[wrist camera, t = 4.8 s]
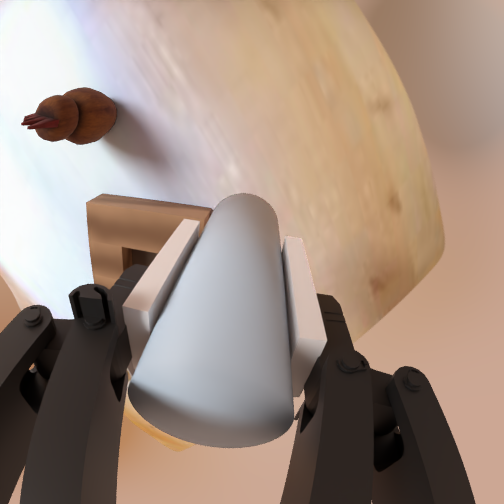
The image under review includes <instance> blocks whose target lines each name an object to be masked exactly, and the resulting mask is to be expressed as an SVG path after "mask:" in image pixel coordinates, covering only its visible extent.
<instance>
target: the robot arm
mask: <svg viewBox="0 0 504 504" xmlns="http://www.w3.org/2000/svg"><path fill="white" fill-rule="evenodd" d="M199 226H200V221H196V220H189V219H184V220H183V221H182V222H181V223H180V225H179V226H178V227H177V229H176V230H175V231H174V233H173V234H172V235H171V237H170V238H169V239H168V241H167V242H166V244H165V245H164V246H163V248H162V249H161V250H160V252H159V253H158V255H157V256H156V257H155V259H154V260H153V262H152V263H151V264H150V266H144V265H139V264H134V265H133V266H131V267H129V268H127V269H126V270H125V271H124V272H123V273H122V275H121V276H120V277H119V279H118V280H117V281H116V282H115V283H114V285H113V286H112V287H111V289H110V290H109V289H108V288H106V287H105V286H103V285H99V284H86V285H82V286H79V287H78V288H76V289H74V290H73V291H72V292H71V293H70V294H69V299H70V303H71V307H72V311H73V315H74V319H71V320H68V319H53V317H52V314H51V312H50V310H49V309H48V308H47V307H45V306H42V305H32V306H29V307H27V308H25V309H24V310H22V311H21V312H20V313H19V314H18V315H17V316H16V317H15V318H14V319H13V320H12V321H11V322H10V323H9V324H8V325H7V327H6V328H5V329H4V330H3V331H2V332H1V333H0V504H8V503H9V500H10V498H11V496H12V493H13V491H14V488H15V486H16V484H17V481H18V479H19V477H20V475H21V472H22V470H23V468H24V466H25V471H24V476H23V482H22V489H21V497H20V504H116V489H117V469H118V457H119V446H120V436H121V427H122V419H123V411H124V404H125V398H126V391H127V385H128V372H127V368H128V366H129V363H130V361H131V359H132V364H133V368H134V369H136V367H137V364H138V362H139V360H140V358H141V355H142V353H143V351H144V349H145V346H146V344H147V342H148V340H149V338H150V336H151V333H152V331H153V329H154V327H155V325H156V323H157V321H158V318H159V316H160V314H161V312H162V310H163V308H164V306H165V304H166V302H167V300H168V298H169V296H170V294H171V291H172V289H173V287H174V285H175V283H176V281H177V279H178V277H179V275H180V273H181V271H182V269H183V268H184V266H185V264H186V262H187V260H188V258H189V256H190V254H191V252H192V250H193V248H194V246H195V244H196V242H197V241H198V238H199ZM281 254H282V264H283V274H284V285H285V296H286V307H287V319H288V331H289V344H290V357H291V372H292V387H293V397H299V396H300V394H301V393H302V391H303V389H304V393H305V400H304V402H303V404H302V405H301V407H300V409H299V411H298V412H297V414H296V416H295V418H294V420H298V418H299V420H298V425H297V431H296V436H295V441H294V446H293V451H292V455H291V460H290V465H289V469H288V474H287V478H286V482H285V487H284V491H283V495H282V498H281V502H280V504H371V500H372V503H373V504H475V500H474V496H473V493H472V490H471V487H470V483H469V480H468V477H467V474H466V471H465V468H464V465H463V462H462V459H461V456H460V454H459V451H458V448H457V445H456V443H455V440H454V438H453V435H452V433H451V430H450V428H449V426H448V423H447V421H446V418H445V416H444V414H443V411H442V409H441V407H440V405H439V402H438V400H437V398H436V396H435V394H434V392H433V389H432V387H431V385H430V383H429V381H428V379H427V378H426V377H425V375H424V374H423V373H422V372H420V371H419V370H418V369H416V368H413V367H408V366H404V367H401V368H399V369H398V370H397V371H396V372H395V373H394V374H393V375H390V374H386V373H383V372H380V371H376V370H373V369H371V368H370V366H369V363H368V361H367V360H366V358H365V357H364V356H363V355H361V354H360V353H359V352H357V351H355V350H354V347H353V344H352V340H351V337H350V334H349V331H348V328H347V325H346V323H345V322H346V321H345V318H344V316H343V312H342V309H341V306H340V304H339V303H338V302H337V301H336V299H335V298H334V297H333V296H331V295H324V294H316V291H315V287H314V283H313V279H312V275H311V271H310V267H309V263H308V260H307V256H306V252H305V248H304V245H303V241H302V238H298V237H292V236H285V240H284V245H283V249H282V253H281ZM33 363H34V365H35V366H34V368H33V369H31V370H29V368H30V367H31V365H32V364H33ZM398 427H399V429H398ZM399 430H400V431H399ZM25 464H26V465H25Z"/></svg>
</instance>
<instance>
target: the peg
mask: <svg viewBox="0 0 504 504" xmlns="http://www.w3.org/2000/svg"><path fill="white" fill-rule="evenodd" d="M128 396H129V399H130V402H131V404H132V405H133V407H134V408H135V410H136V411H137V412H138V413H139V414H140V415H141V416H142V417H143V418H144V419H145V420H146V421H148V422H149V423H150V424H152V425H153V426H155V427H156V428H158V429H159V430H161V431H163V432H165V433H167V434H169V435H171V436H174V437H176V438H179V439H181V440H184V441H187V442H191V443H195V444H200V445H204V446H210V447H220V448H242V447H251V446H256V445H260V444H264V443H267V442H270V441H272V440H274V439H277V438H278V437H280V436H281V435H283V434H284V433H285V432H287V431H288V429H289V428H290V427H291V425H292V423H293V420H294V405H293V387H292V372H291V357H290V344H289V331H288V319H287V307H286V296H285V285H284V274H283V264H282V254H281V244H280V235H279V225H278V219H277V215H276V213H275V211H274V210H273V208H272V207H271V206H270V204H269V203H267V202H266V201H265V200H264V199H262V198H260V197H258V196H256V195H252V194H246V193H241V194H235V195H231V196H229V197H227V198H225V199H224V200H222V201H221V202H220V203H219V204H218V205H217V206H216V208H215V209H214V211H213V213H212V215H211V216H210V218H209V220H208V222H207V224H206V226H205V227H204V229H203V231H202V233H201V235H200V237H199V239H198V241H197V242H196V244H195V246H194V248H193V250H192V252H191V254H190V256H189V258H188V260H187V262H186V264H185V266H184V268H183V269H182V271H181V273H180V275H179V277H178V279H177V281H176V283H175V285H174V287H173V289H172V291H171V294H170V296H169V298H168V300H167V302H166V304H165V306H164V308H163V310H162V312H161V314H160V316H159V318H158V321H157V323H156V325H155V327H154V329H153V331H152V333H151V336H150V338H149V340H148V342H147V344H146V346H145V349H144V351H143V353H142V355H141V358H140V360H139V362H138V364H137V367H136V369H135V371H134V374H133V376H132V378H131V381H130V383H129V386H128Z"/></svg>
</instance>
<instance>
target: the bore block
mask: <svg viewBox="0 0 504 504" xmlns="http://www.w3.org/2000/svg"><path fill="white" fill-rule="evenodd" d="M86 208H87V225H88V237H89V247H90V256H91V264H92V271H93V278H94V284H99V285H103V286H105V287H106V288H108V289H109V290H110V289H111V287H112V286H113V285H114V283H115V282H116V281H117V280H118V279H119V277H120V276H121V275H122V273H123V272H124V271H125V270H126V269H127V268H129V267H131V266H133V265H134V264H139V265H144V266H150V264H151V263H152V262H153V260H154V259H155V257H156V256H157V255H158V253H159V252H160V250H161V249H162V248H163V246H164V245H165V244H166V242H167V241H168V239H169V238H170V237H171V235H172V234H173V233H174V231H175V230H176V229H177V227H178V226H179V225H180V223H181V222H182V221H183V220H184V219H189V220H196V221H200V226H199V237H200V235H201V233H202V231H203V229H204V227H205V226H206V224H207V222H208V220H209V218H210V215H211V208H206V207H200V206H193V205H186V204H179V203H172V202H165V201H158V200H150V199H142V198H134V197H126V196H118V195H110V194H101V195H99V196H97V197H96V198H94V199H92V200H90V201H88V202H87V203H86ZM198 239H199V238H198Z"/></svg>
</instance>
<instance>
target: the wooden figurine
mask: <svg viewBox="0 0 504 504" xmlns="http://www.w3.org/2000/svg"><path fill="white" fill-rule="evenodd" d="M116 117H117V109H116V107H115V104H114V103H113V101H112V100H111V99H110V98H109V97H107V96H106V95H105V94H103V93H101V92H99V91H96V90H94V89H91V88H77V89H74V90H71V91H68V92H66V93H65V94H64V95H63V96H62V95H55V96H52V97H49V98H47V99H45V100H44V101H42V102H41V103H40V104H39V106H38V108H37V110H36V113H34V114H31V115H27V116H25V118H24V121H23V123H21V125H30V126H28V128H27V129H35V130H36V132H37V134H38V136H39V137H41V138H42V139H44V140H48V141H51V142H54V141H60V140H63V139H66V140H68V141H70V142H73V143H75V144H77V145H83V144H88V143H92V142H96V141H97V140H99V139H100V138H101V137H102V136H104V135H105V134H106V133H107V132H109V130H110V129H111V128H112V126H113V125H114V124H115V120H116Z"/></svg>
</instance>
